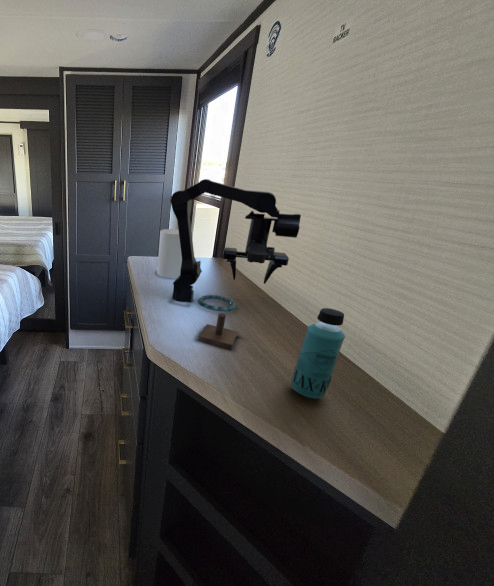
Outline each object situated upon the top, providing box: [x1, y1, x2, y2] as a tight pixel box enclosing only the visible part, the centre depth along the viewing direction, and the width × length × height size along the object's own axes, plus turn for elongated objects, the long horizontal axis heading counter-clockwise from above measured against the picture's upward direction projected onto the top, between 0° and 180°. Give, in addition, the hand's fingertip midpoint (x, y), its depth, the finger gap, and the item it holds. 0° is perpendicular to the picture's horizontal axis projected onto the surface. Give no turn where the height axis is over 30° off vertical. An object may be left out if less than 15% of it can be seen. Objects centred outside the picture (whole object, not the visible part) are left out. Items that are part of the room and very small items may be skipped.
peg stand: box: [197, 312, 239, 350], centre depth 89 cm, size 9×9×8 cm
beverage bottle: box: [290, 307, 346, 399], centre depth 64 cm, size 6×7×20 cm
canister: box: [156, 228, 182, 280], centre depth 143 cm, size 14×14×20 cm
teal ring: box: [197, 294, 238, 312], centre depth 112 cm, size 13×13×2 cm
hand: (249, 281), depth 103 cm, fingers open, 9 cm apart
